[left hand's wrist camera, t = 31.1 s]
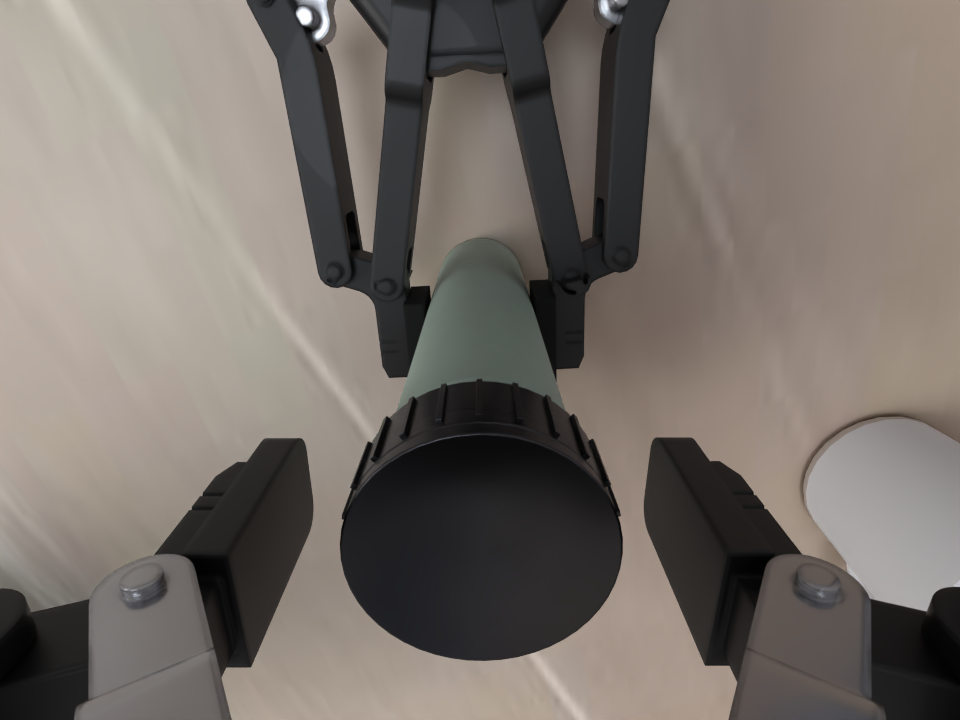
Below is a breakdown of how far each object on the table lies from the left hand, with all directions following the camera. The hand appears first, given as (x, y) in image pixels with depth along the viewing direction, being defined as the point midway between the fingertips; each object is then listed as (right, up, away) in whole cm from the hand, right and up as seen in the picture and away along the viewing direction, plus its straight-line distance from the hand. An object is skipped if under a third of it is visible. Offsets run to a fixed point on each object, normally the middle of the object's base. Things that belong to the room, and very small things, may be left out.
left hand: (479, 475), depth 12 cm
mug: (+22, -5, +21) cm, 31 cm away
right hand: (0, -1, +12) cm, 12 cm away
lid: (0, -1, -2) cm, 2 cm away
